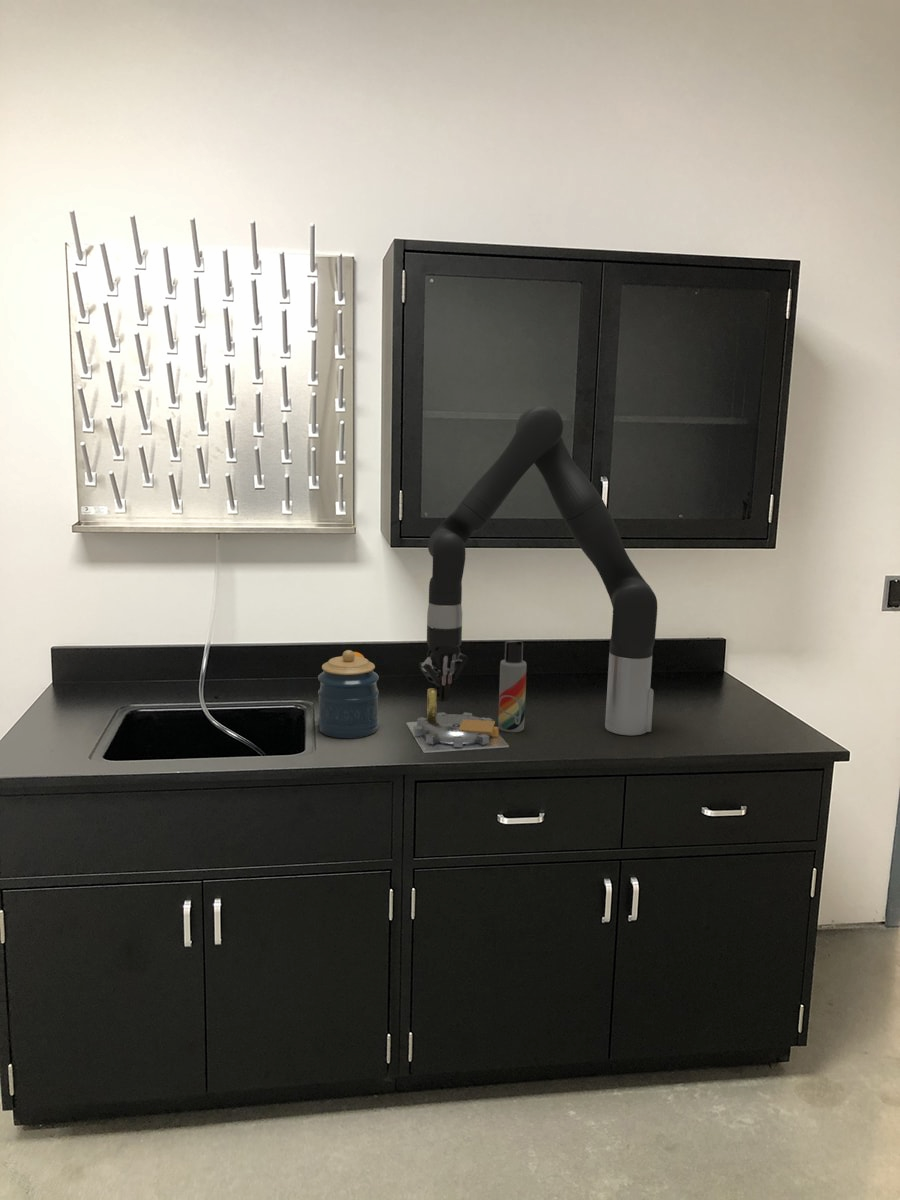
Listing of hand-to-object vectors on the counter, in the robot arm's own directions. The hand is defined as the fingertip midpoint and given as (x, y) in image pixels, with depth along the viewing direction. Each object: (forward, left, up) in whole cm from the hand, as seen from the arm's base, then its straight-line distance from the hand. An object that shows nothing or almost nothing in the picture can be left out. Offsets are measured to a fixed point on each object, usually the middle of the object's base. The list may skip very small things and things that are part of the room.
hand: (442, 700), depth 205 cm
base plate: (-2, +6, -6) cm, 9 cm away
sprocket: (-2, +6, -6) cm, 9 cm away
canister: (+20, -2, -6) cm, 21 cm away
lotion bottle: (-15, +4, -6) cm, 16 cm away
